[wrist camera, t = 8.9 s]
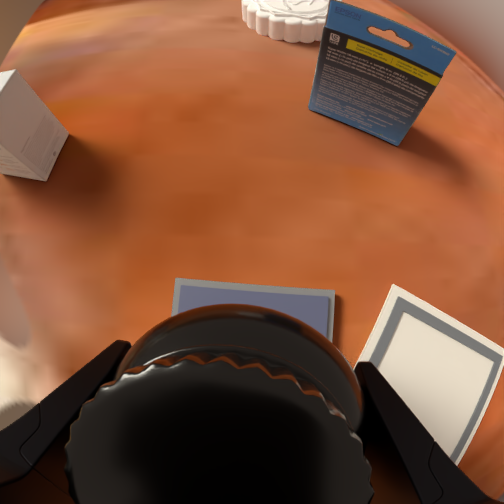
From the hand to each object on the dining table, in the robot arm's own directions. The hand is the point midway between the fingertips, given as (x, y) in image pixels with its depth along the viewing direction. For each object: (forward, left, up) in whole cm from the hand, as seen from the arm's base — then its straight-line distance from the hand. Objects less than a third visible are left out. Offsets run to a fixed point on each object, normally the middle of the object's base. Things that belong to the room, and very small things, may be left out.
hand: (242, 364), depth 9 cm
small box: (+17, +22, -13) cm, 31 cm away
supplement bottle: (-2, 0, -7) cm, 7 cm away
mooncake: (+36, -5, -14) cm, 39 cm away
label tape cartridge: (+20, -10, -13) cm, 26 cm away
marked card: (-5, -14, -13) cm, 20 cm away
